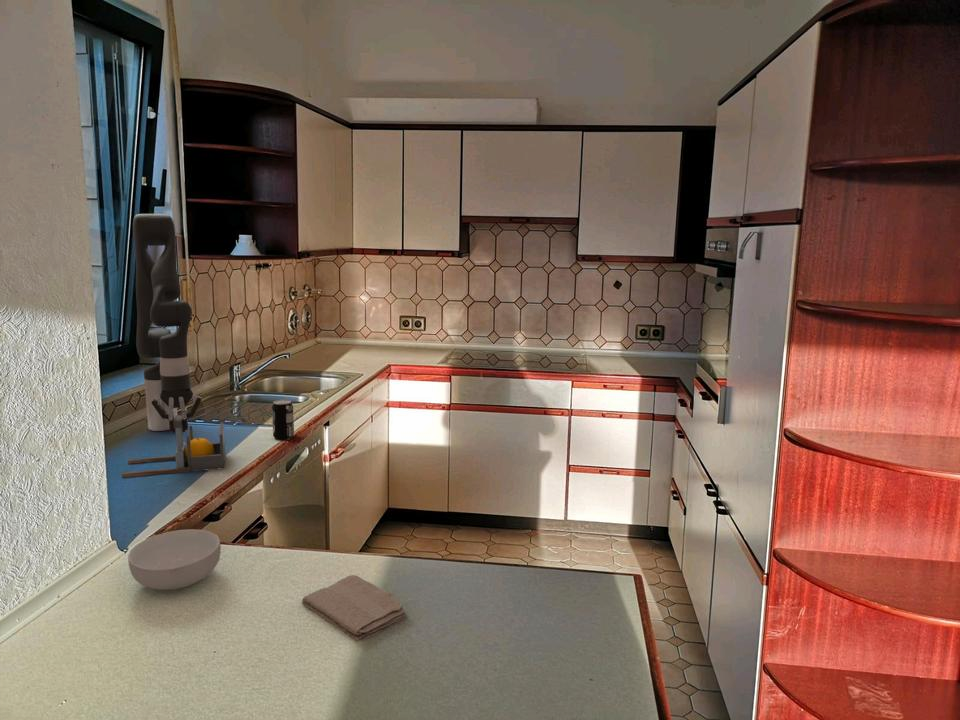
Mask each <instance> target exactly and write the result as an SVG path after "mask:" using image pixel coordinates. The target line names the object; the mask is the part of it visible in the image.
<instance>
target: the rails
mask: <svg viewBox="0 0 960 720" xmlns="http://www.w3.org/2000/svg"><path fill="white" fill-rule="evenodd" d="M163 460H170V461H176V457H175V455H171V456H170V455H169V456H158V457H147V458H146V457H145V458H136V459H135V458H134V459H127V464H128V463H129V464H128V465H132V464H131V463H135V464H143V463H142V462H146V463H154V462H153V461H158V462H164V461H163ZM187 471H189V466H187V467H186V466H185V468H176V467H175V468H164V469H153V470H151V469H150V470H142V471H130V472H122V473H121V478H132V477H133V478H134V477H141V476H143V477H144V476H152V475H154V476H155V475H166V473H167V474H176V473H177V472H178V473H187ZM189 472H190V471H189Z"/></svg>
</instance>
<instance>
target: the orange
mask: <svg viewBox="0 0 960 720" xmlns="http://www.w3.org/2000/svg"><path fill="white" fill-rule="evenodd" d="M211 443H212V442H211V441H209V440H208V439H207V438H203V437H198V438H197V437H196V438H193V440H191V441H190V446H191V457H194V456H206V455H214V448H213V445H212V444H211ZM185 458H186V462H188V451H187V445H186V448H185Z"/></svg>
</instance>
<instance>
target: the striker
mask: <svg viewBox="0 0 960 720" xmlns="http://www.w3.org/2000/svg"><path fill="white" fill-rule="evenodd" d="M173 424H174V428H176V432H175V437H176V438H175V439H176V448H175V453H174V454H175V455H174V456H175V457H176V460H175V468H185V467H186V464H187V463H186V462H187V460H186V458H185V448H186V446H187V443H186V442H184V435H183V433H184V432H183V431H182V414H180V415H179V414H177V415H176V416H175V419H174V422H173Z"/></svg>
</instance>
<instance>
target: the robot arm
mask: <svg viewBox="0 0 960 720" xmlns="http://www.w3.org/2000/svg"><path fill="white" fill-rule="evenodd" d="M132 230H133V231H132V234H133V235H132V236H133V244H134V254H135V255H134V257H135V295H136V298H135V299H136V310H137V311H136V312H137V313H136V316H137V319H136V339H135V343H136V346H135V347H136V351H137V355H138V356H139V357H140V358H142V359H155V358H159V359H160V361H159V362H157V363H156V364H154V365H152V366H150V367H149V366H148V367H147V368H146V369H145V370H144V372H143V378H144V379H143V380H144V381H143V382H144V388H145V389H144V390H145V404H146V415H147V429H148V430H150V431H154V432H160V431H161V432H162V431H170V432H172V433H173V434H176V428H174V424H173V422H174V419H175V416H176V415H178V408H179V409H180V413H181V415H182V431H183V433H186V431H187V430H188V428H189V422H188V421H189V420H188V419H190V418H192V417H194V415H195V414H196V412H197V410H198V407H199V405H200V403H201V402H202V398H203V397H202V396H201V395H195V394H194V392H193V390H192V387H191V375H190V374H191V373H190V370H191V369H190V362H189V357H188V332H189V327H190V324H191V321H192V315H193V310H192V307H191V305H190V304H189V302H187V301H186V300H178V298H180V296H181V285H180V281H179V280H180V279H179V276H178V275H179V274H178V265H177V261H178V259H177V239H176V238H177V236H176V228H175V223H174V220H173V218H172V216H170V215H169V214H166V213H165V214H164V213H139V214H135V216H134V218H133V221H132ZM148 246H150V247H154V246H155V247H156V246H157V247H158V246H161V247H163V246H164V249H163V251H162V253H161V255H160V256H159V258H158V259H157V260H156V262H155V261H154V259H153V258H152V256H151V254H150V252H149V251H148V248H147V247H148ZM152 324H153V325H154V326H155V327H158V329H150V328H151V325H152ZM167 327H168V328H169V327H177V329H176V330H175V331H174V332H173V333H172V331H171V330H170V329H168V328H167ZM159 328H161V329H159ZM191 399H192V403H193V405H192V407H191V408H190V411H187V405H188V404H189V402H190V401H191Z"/></svg>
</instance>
